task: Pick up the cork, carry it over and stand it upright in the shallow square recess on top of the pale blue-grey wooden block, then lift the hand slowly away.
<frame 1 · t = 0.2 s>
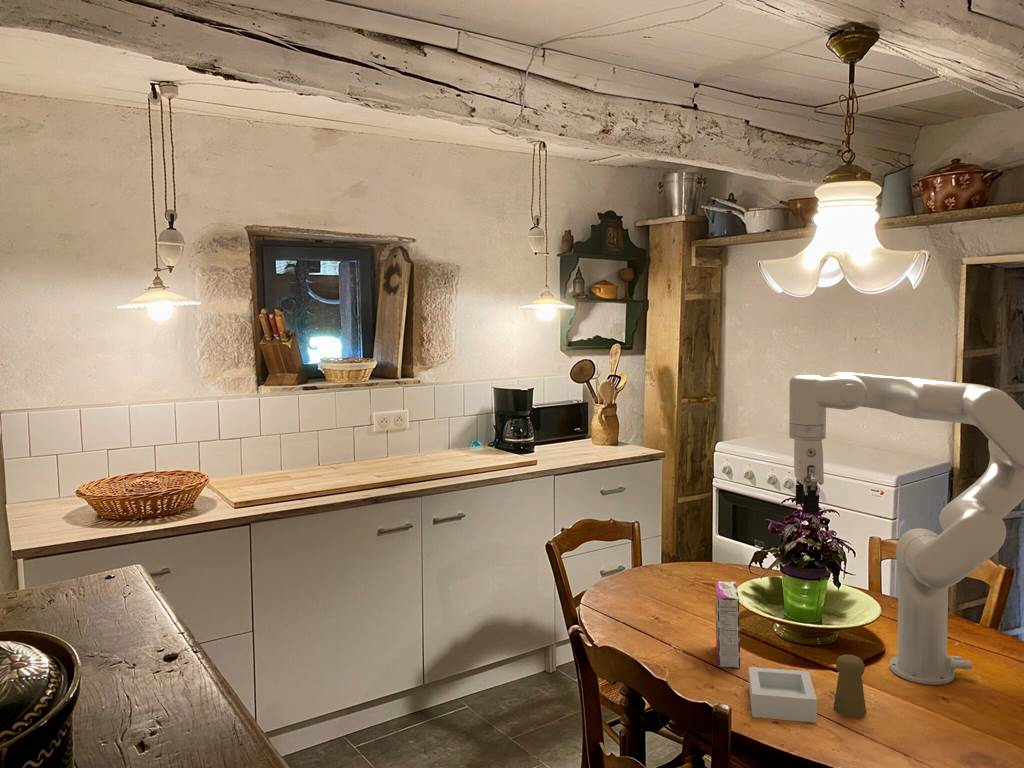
hand: (806, 507, 170), 36 cm above the table, tool pointing down, fingers open, 9 cm apart
candy bar box: (727, 658, 179), on the table
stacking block: (781, 706, 157), on the table
cork: (849, 711, 154), on the table
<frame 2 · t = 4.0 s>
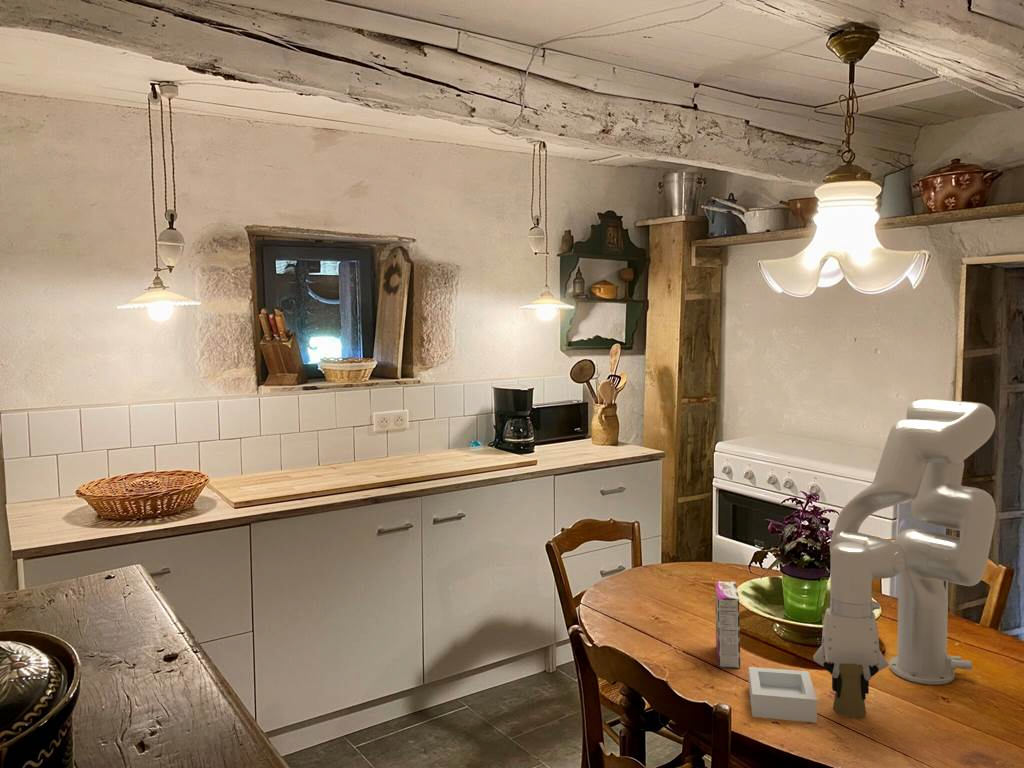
hand: (850, 694, 153), 3 cm above the table, tool pointing down, fingers closed on cork, 3 cm apart
cork: (849, 711, 154), on the table, touching gripper
everything else where it was.
when the fingers open (6 cm above the table, at t = 11.2 s): cork stays where it is, resting on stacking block.
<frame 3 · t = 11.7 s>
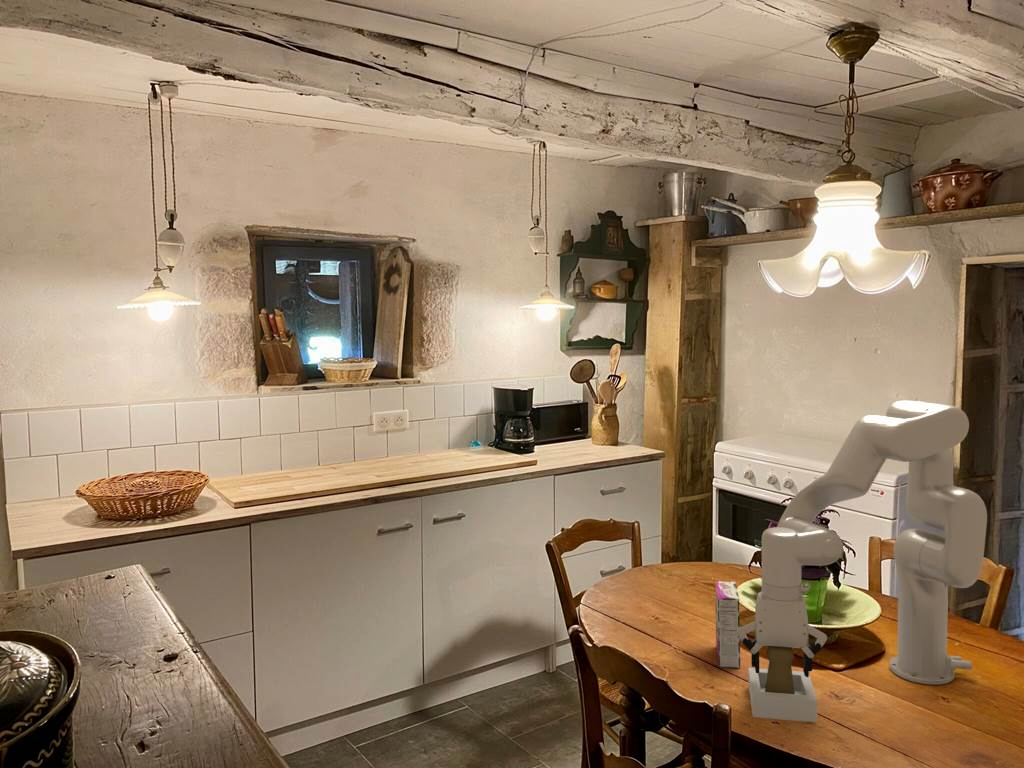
hand: (781, 672, 156), 7 cm above the table, tool pointing down, fingers open, 9 cm apart
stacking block: (781, 706, 157), on the table, touching cork
cork: (779, 697, 157), point 1 cm above the table, touching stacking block
everything else where it was.
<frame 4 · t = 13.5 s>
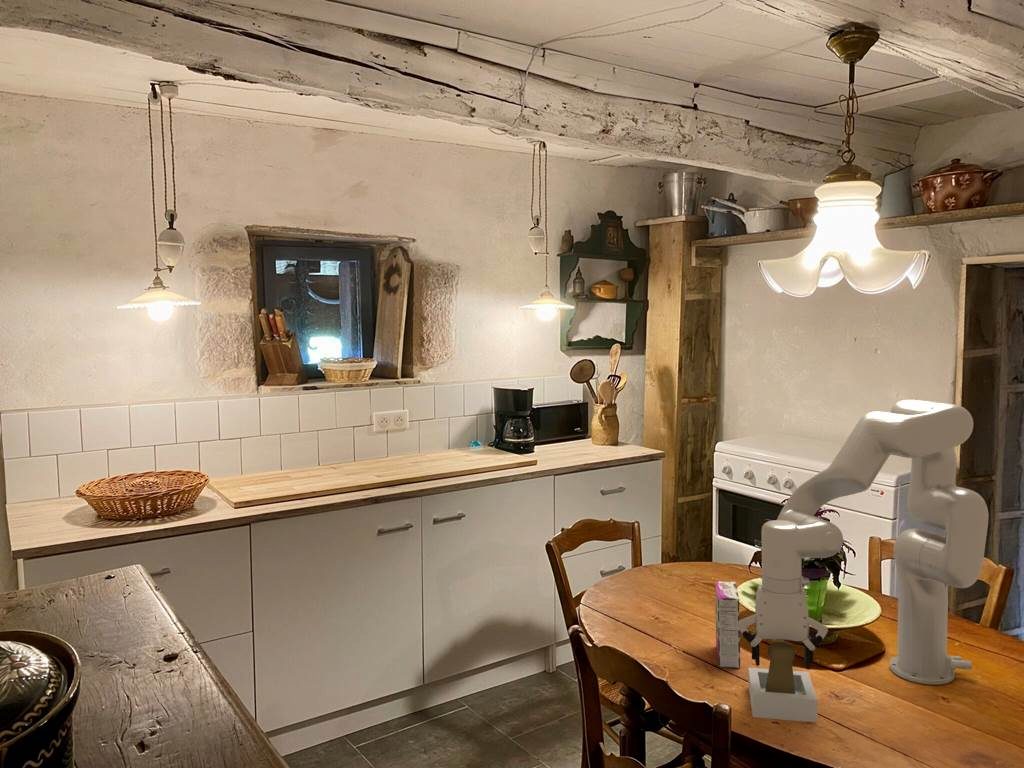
hand: (782, 664, 156), 8 cm above the table, tool pointing down, fingers open, 9 cm apart
nothing on the table moved.
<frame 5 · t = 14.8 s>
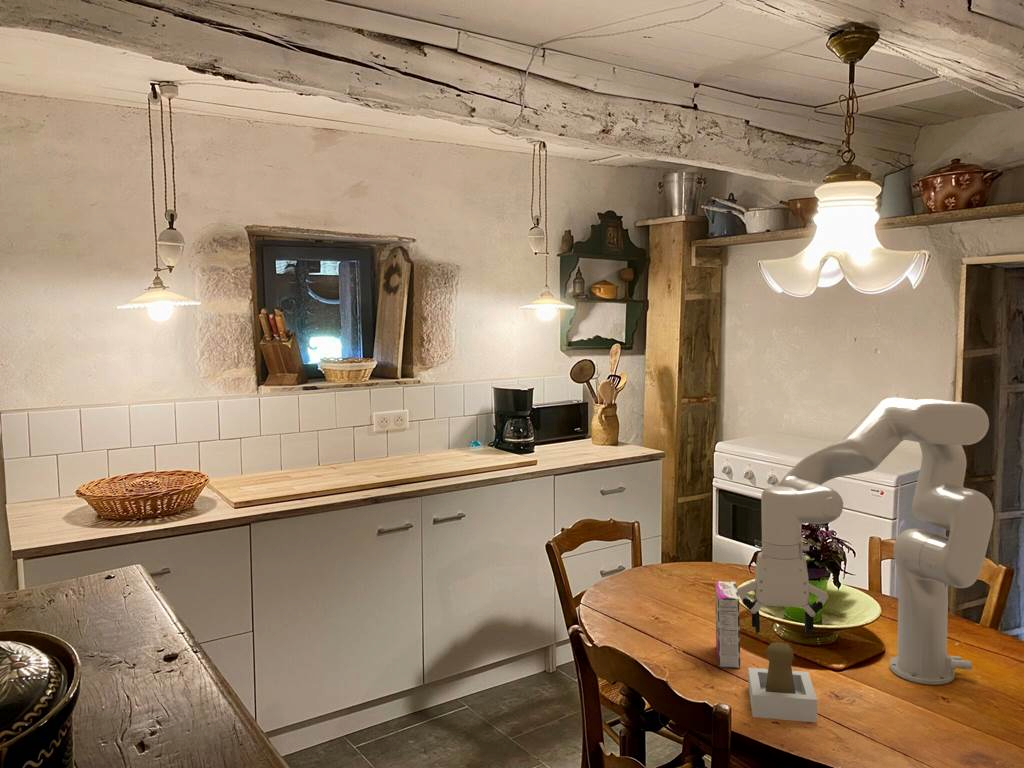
hand: (782, 631, 155), 15 cm above the table, tool pointing down, fingers open, 9 cm apart
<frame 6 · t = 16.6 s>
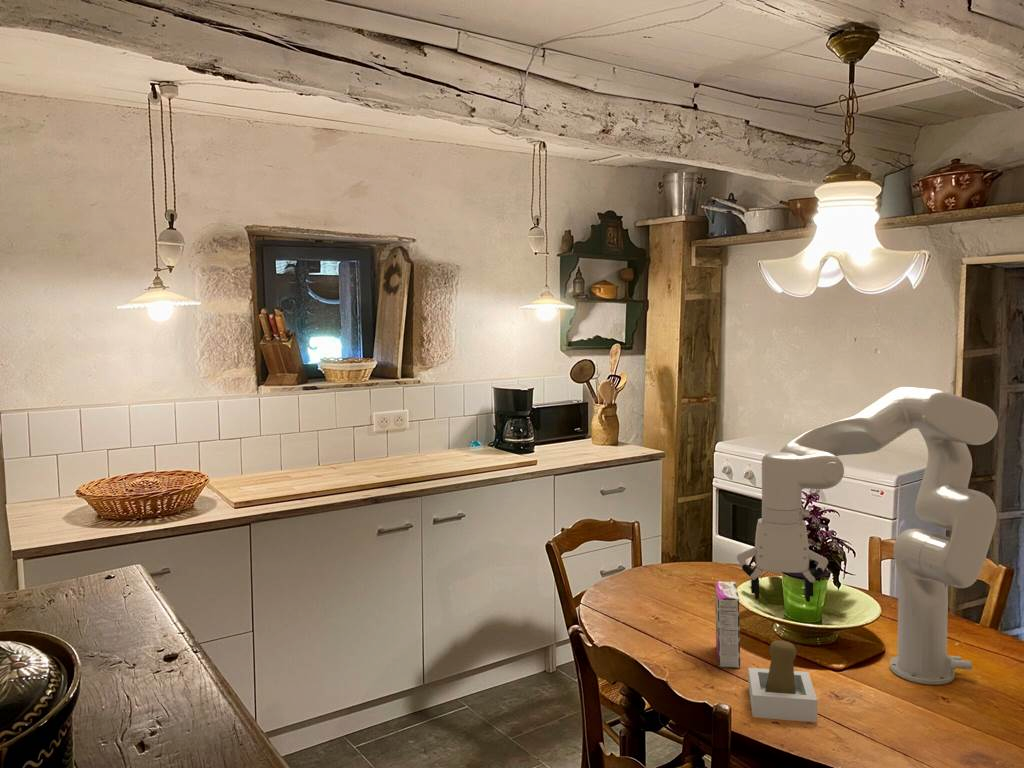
hand: (781, 598, 155), 22 cm above the table, tool pointing down, fingers open, 9 cm apart
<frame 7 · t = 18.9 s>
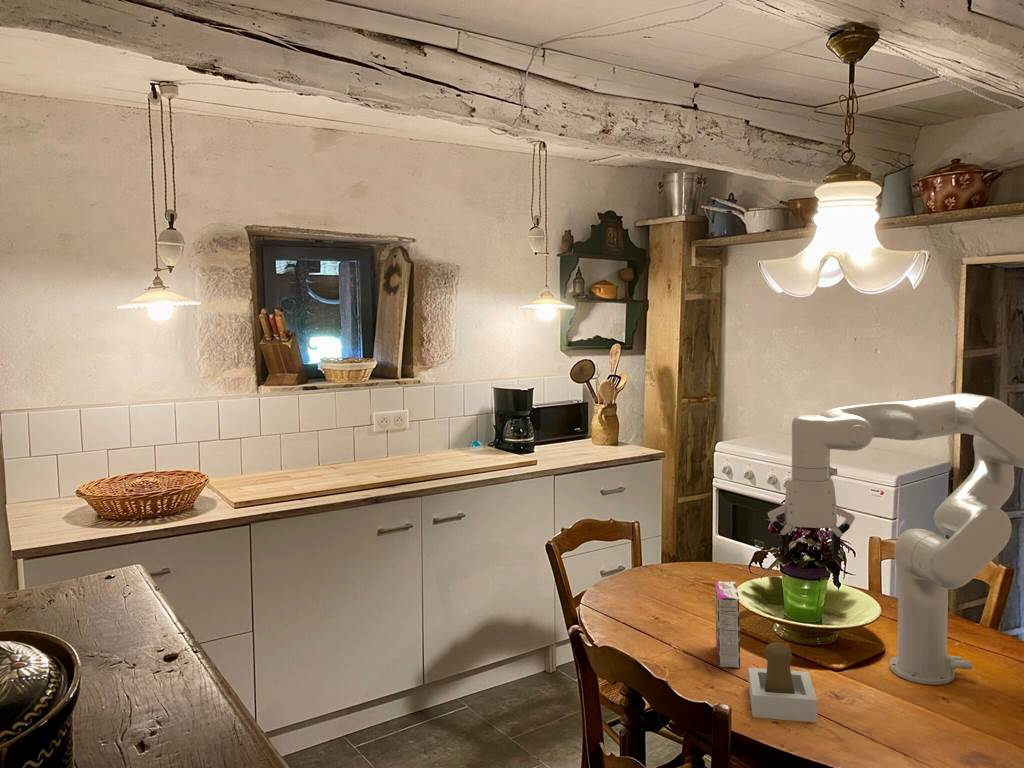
hand: (810, 552, 164), 28 cm above the table, tool pointing down, fingers open, 9 cm apart
at the end: cork 0.2 cm off-centre on the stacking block, point 2.3 cm above the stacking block's base; cork tilted 9°; the gripper is holding nothing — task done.
